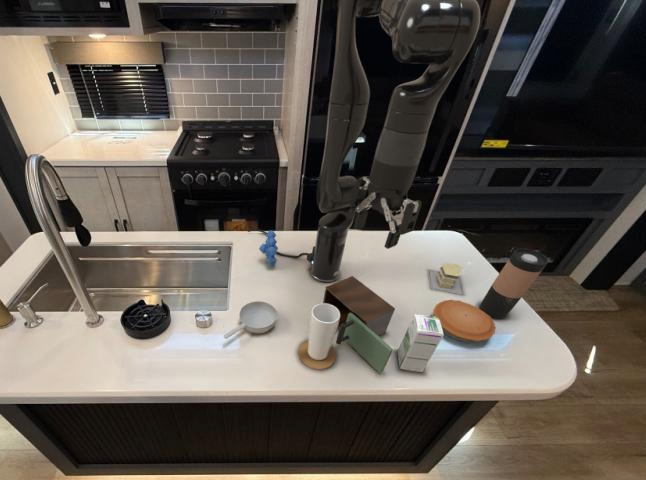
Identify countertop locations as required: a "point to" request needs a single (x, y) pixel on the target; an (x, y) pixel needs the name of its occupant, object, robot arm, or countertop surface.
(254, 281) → the countertop surface
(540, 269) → the travel mug
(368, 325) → the cupboard
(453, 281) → the stacked layers on plate
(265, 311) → the grey frying pan
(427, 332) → the syrup box
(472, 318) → the pie
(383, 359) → the cupboard door
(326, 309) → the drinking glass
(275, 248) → the grapes
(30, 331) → the countertop surface
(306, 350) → the cork mat
